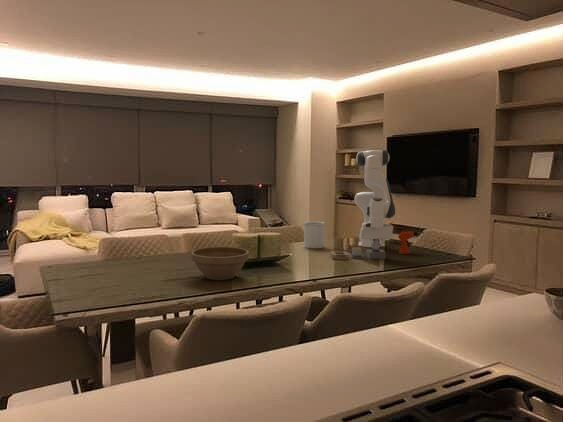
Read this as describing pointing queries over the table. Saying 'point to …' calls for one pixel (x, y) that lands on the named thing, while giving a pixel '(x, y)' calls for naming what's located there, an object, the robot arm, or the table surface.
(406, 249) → the toy drill
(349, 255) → the guide channel
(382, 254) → the socket block
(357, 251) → the release bar
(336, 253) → the rack
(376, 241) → the drill bit
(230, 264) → the flower pot
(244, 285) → the table surface
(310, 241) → the utensil holder
